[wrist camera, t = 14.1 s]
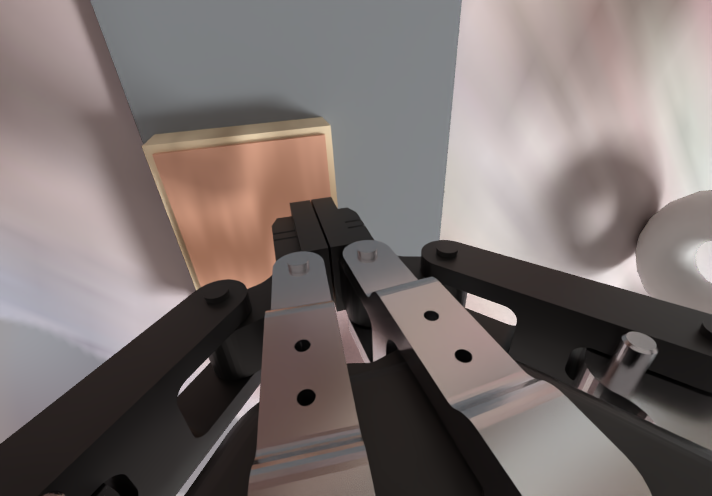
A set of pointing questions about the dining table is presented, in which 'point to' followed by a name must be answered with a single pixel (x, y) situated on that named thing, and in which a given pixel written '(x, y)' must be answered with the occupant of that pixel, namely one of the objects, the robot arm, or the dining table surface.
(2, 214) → the dining table surface
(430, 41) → the mat
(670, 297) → the donut
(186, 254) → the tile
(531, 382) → the robot arm
